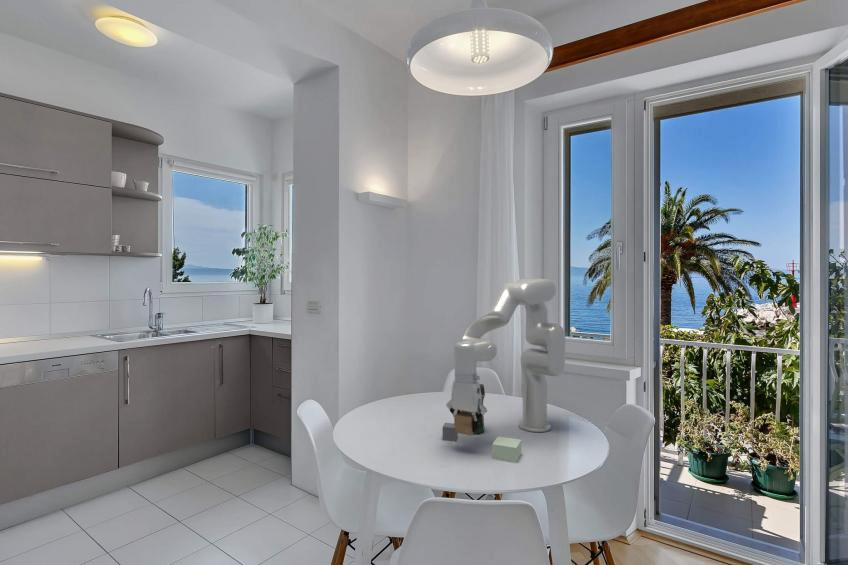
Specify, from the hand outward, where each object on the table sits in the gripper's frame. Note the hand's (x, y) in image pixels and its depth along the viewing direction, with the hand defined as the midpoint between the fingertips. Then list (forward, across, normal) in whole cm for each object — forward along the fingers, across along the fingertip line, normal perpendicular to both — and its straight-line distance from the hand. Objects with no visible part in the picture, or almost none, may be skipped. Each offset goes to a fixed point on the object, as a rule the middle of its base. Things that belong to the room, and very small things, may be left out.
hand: (466, 428), depth 154 cm
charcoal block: (+8, +10, -7) cm, 15 cm away
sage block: (+8, -14, -3) cm, 16 cm away
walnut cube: (+1, 0, 0) cm, 1 cm away
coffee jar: (+8, +7, -19) cm, 22 cm away
